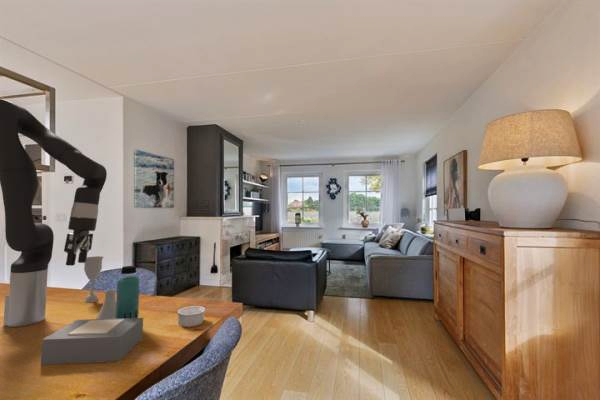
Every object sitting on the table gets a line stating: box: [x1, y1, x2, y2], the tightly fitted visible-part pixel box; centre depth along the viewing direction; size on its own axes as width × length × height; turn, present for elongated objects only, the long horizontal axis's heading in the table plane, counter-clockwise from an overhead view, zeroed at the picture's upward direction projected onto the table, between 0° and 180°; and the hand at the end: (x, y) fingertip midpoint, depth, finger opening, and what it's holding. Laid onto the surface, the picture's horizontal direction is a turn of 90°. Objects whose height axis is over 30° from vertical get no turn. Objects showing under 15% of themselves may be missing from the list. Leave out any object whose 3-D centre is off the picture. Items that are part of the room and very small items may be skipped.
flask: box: [95, 289, 117, 319], centre depth 97 cm, size 7×7×10 cm
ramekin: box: [177, 305, 206, 328], centre depth 96 cm, size 9×9×4 cm
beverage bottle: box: [115, 265, 141, 319], centre depth 90 cm, size 6×7×20 cm
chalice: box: [83, 256, 104, 303], centre depth 118 cm, size 7×7×18 cm
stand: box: [40, 317, 144, 366], centre depth 76 cm, size 18×13×6 cm
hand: (76, 264), depth 95 cm, fingers open, 8 cm apart
